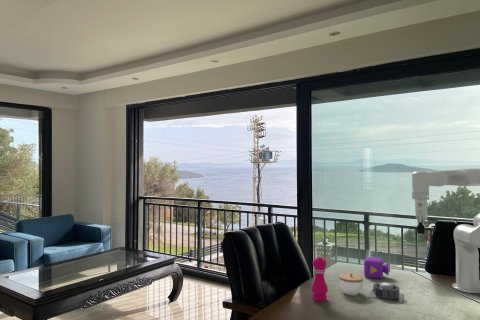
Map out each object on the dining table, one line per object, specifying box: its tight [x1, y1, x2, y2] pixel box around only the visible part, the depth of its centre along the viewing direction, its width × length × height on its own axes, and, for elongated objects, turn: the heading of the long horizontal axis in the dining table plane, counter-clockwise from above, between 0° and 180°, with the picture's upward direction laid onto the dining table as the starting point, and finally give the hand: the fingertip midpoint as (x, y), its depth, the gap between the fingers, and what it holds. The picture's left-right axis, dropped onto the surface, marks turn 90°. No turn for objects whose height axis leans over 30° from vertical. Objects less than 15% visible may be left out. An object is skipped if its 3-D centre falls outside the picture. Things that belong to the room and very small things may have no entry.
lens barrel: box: [368, 282, 405, 304], centre depth 164 cm, size 14×12×4 cm
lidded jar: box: [339, 272, 364, 296], centre depth 167 cm, size 11×11×9 cm
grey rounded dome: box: [378, 282, 394, 290], centre depth 164 cm, size 6×6×4 cm
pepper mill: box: [310, 254, 329, 302], centre depth 159 cm, size 7×7×20 cm
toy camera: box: [363, 255, 391, 280], centre depth 194 cm, size 11×14×10 cm
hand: (420, 233), depth 175 cm, fingers closed
